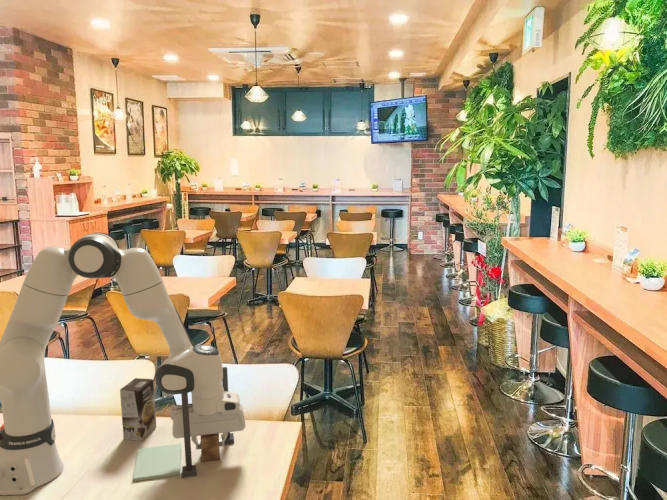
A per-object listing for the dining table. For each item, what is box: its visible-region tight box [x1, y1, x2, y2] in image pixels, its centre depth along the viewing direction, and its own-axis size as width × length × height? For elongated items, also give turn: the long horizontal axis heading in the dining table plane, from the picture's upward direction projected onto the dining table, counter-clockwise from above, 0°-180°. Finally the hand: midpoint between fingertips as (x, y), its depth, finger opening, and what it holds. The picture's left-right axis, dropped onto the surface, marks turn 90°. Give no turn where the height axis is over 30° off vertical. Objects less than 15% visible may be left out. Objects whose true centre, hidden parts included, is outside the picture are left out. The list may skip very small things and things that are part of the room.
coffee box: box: [119, 377, 157, 442], centre depth 172 cm, size 9×6×16 cm
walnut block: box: [200, 433, 221, 462], centre depth 160 cm, size 5×5×7 cm
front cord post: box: [180, 392, 197, 479], centre depth 150 cm, size 4×4×23 cm
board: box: [132, 443, 182, 482], centre depth 157 cm, size 12×15×1 cm
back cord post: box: [220, 366, 235, 445], centre depth 166 cm, size 4×4×23 cm
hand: (210, 446), depth 160 cm, fingers closed on walnut block, 5 cm apart
